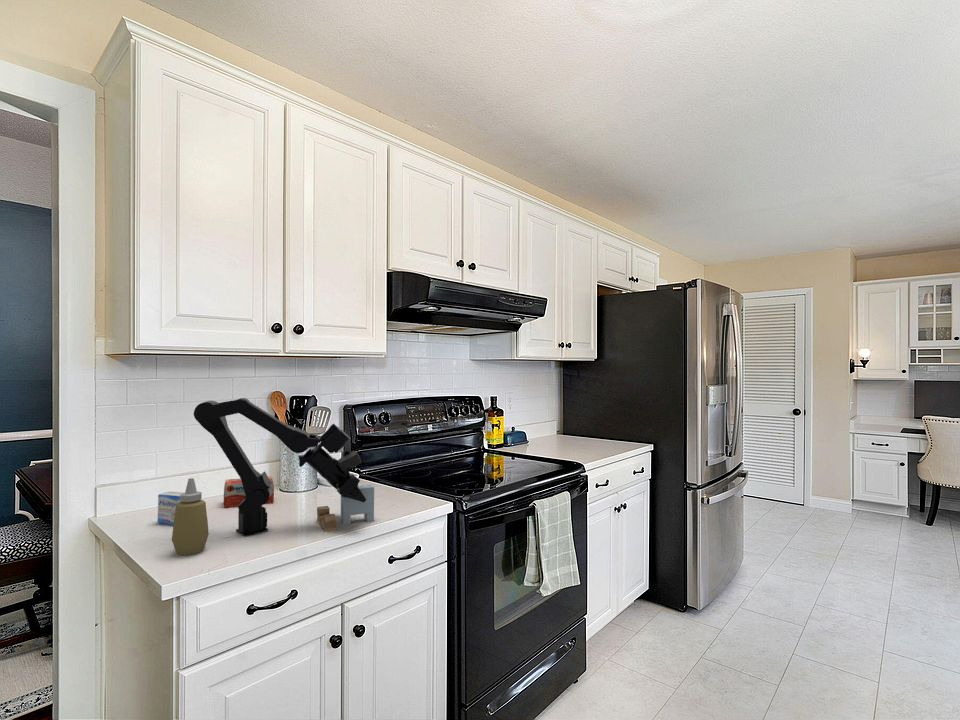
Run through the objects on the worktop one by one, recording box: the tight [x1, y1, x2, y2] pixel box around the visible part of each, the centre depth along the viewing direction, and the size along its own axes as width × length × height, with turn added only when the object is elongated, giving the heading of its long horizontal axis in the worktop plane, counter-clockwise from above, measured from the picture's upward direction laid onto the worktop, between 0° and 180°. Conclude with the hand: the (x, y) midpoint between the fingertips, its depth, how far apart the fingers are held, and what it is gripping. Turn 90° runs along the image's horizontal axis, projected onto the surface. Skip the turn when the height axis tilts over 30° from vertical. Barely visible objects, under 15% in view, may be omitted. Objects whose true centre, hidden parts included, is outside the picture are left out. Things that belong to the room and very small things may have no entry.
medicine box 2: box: [223, 475, 275, 509], centre depth 172 cm, size 15×8×8 cm, turn 115°
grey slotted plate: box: [340, 484, 375, 526], centre depth 153 cm, size 9×4×10 cm, turn 118°
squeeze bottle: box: [171, 477, 210, 556], centre depth 128 cm, size 8×8×18 cm
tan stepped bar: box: [316, 505, 337, 533], centre depth 149 cm, size 12×3×4 cm, turn 28°
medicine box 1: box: [157, 491, 183, 526], centre depth 150 cm, size 8×4×9 cm, turn 76°
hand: (362, 498), depth 154 cm, fingers open, 6 cm apart
